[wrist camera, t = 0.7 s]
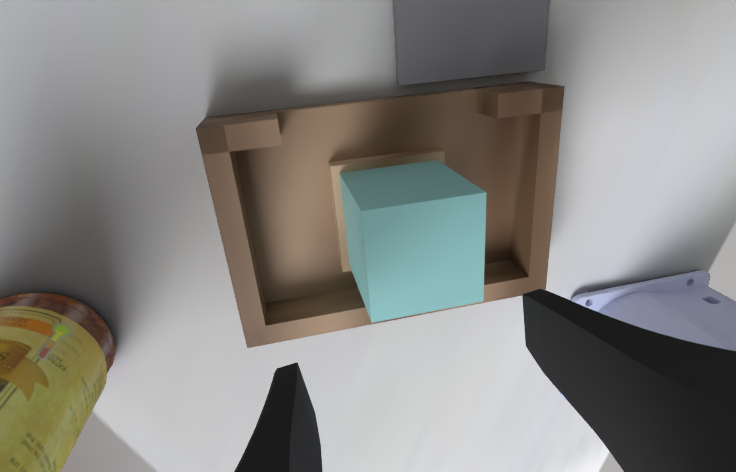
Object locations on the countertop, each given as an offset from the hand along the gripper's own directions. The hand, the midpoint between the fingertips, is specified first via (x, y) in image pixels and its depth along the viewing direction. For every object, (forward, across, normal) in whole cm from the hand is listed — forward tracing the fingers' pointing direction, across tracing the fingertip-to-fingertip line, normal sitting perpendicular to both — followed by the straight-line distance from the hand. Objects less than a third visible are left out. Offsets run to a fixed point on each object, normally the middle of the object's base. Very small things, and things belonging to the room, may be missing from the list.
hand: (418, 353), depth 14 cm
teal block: (+8, -2, -1) cm, 9 cm away
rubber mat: (+10, -7, -10) cm, 16 cm away
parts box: (+10, -2, -1) cm, 10 cm away
